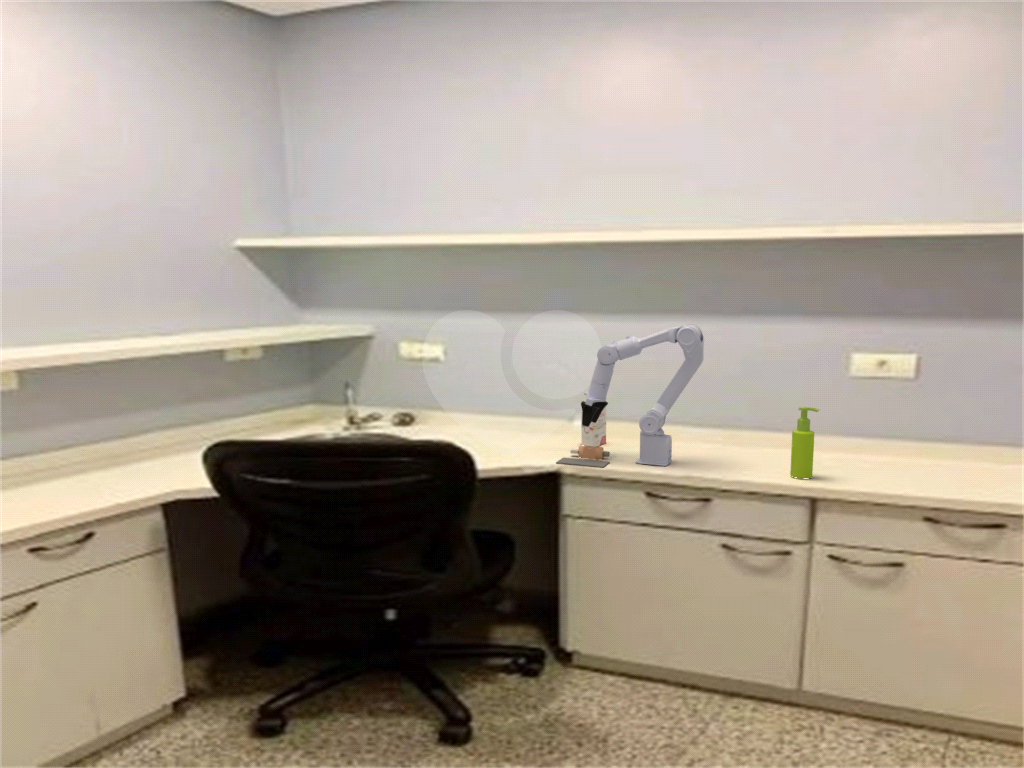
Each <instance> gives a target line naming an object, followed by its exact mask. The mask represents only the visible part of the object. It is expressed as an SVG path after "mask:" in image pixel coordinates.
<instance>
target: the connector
mask: <svg viewBox="0 0 1024 768" xmlns="http://www.w3.org/2000/svg"><path fill="white" fill-rule="evenodd" d="M569 451H570V454H575V455H576V454H577V455H578V456H579V457H581V458H589V459H588V460H592V459H602V460H603V458H604V457H607V458H608V457H610V455H611V453H610V451H605V450H604V447H602V446H582V445H579V446H578V448H572V449H570V450H569ZM579 457H578V458H579ZM581 458H580V459H581Z"/></svg>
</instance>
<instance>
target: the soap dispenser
mask: <svg viewBox="0 0 1024 768" xmlns="http://www.w3.org/2000/svg"><path fill="white" fill-rule="evenodd" d="M798 411H800V417H798V418H797V420H796V421H797V422H796V423H797V425H796V426H797V427H796V429H794V430H792V431H791V456H790V474H789V475H791V476H793V477H797V478H811V477H812V478H813V472H814V471H813V470H814V468H813V467H814V453H815V452H814V446H815V431H813V430H811V419H810V418H808V411H810V412H815V413H818V412H820V409H818V408H815V407H808V406H800V407H798ZM791 476H790V477H791Z"/></svg>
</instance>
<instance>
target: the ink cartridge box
mask: <svg viewBox="0 0 1024 768" xmlns="http://www.w3.org/2000/svg"><path fill="white" fill-rule="evenodd" d="M580 413H581V414H580V415H581V419H580V420H581V421H580V422H581V427H580V428H581V446H582V445H584V446H598V447H600V446H603V445H604V444H606V443H607V406H606V407H605V408H604V409H603V411H602V412H601V414H600V416H599V418H598V420H597V422H596V423H594V422H591V423H590V425H589V427H587V426H584V425H582V411H581V412H580Z"/></svg>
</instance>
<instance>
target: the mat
mask: <svg viewBox="0 0 1024 768" xmlns="http://www.w3.org/2000/svg"><path fill="white" fill-rule="evenodd" d="M555 464H557V465H558V464H559V465H567V466H568V465H569V466H579V467H589V468H599V469H601V468H602V469H605V467H607V466H608V465H609V464H611V461H610V460H609V461H606V460H592V459H581V458H572V457H561V458H560V459H559V460H557V461H556V462H555Z"/></svg>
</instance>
